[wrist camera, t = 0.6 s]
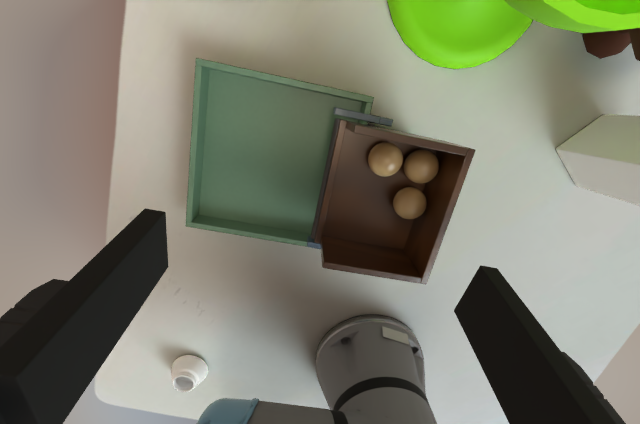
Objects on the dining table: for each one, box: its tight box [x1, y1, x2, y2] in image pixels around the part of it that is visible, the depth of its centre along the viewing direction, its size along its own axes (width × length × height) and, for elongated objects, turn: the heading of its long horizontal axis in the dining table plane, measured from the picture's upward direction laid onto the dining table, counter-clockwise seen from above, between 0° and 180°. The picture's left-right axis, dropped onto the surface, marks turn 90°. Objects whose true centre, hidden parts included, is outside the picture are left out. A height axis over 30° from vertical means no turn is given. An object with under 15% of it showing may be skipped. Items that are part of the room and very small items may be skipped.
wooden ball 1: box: [368, 142, 403, 177], centre depth 27 cm, size 3×3×3 cm
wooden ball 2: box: [404, 150, 439, 183], centre depth 27 cm, size 3×3×3 cm
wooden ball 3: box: [393, 187, 427, 219], centre depth 28 cm, size 3×3×3 cm
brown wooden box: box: [310, 118, 475, 284], centre depth 27 cm, size 12×10×6 cm
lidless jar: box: [171, 355, 208, 392], centre depth 43 cm, size 5×3×5 cm
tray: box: [186, 58, 374, 247], centre depth 33 cm, size 17×17×3 cm
